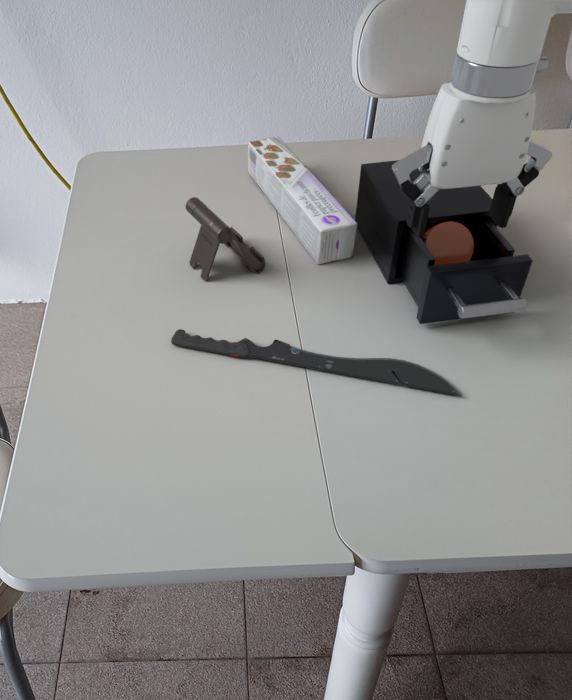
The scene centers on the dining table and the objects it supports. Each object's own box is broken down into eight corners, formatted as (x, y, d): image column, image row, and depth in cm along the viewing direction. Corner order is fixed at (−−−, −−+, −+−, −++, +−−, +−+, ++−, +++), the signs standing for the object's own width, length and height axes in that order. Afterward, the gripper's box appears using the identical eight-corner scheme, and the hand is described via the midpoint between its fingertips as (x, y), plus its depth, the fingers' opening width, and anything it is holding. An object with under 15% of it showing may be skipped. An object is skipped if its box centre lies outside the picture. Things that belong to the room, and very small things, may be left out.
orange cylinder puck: (462, 220, 78) (474, 219, 75) (462, 270, 79) (474, 271, 76) (414, 224, 78) (424, 223, 75) (415, 273, 79) (425, 275, 76)
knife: (462, 372, 69) (464, 368, 69) (461, 400, 66) (462, 396, 66) (182, 323, 77) (181, 319, 76) (169, 345, 74) (169, 342, 74)
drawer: (534, 338, 71) (554, 285, 66) (434, 350, 71) (447, 298, 66) (466, 248, 85) (479, 198, 80) (382, 258, 84) (389, 208, 79)
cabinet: (484, 272, 82) (502, 209, 76) (387, 284, 81) (398, 221, 75) (439, 213, 93) (452, 154, 87) (354, 223, 92) (361, 163, 86)
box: (354, 257, 86) (359, 220, 82) (318, 266, 84) (320, 229, 81) (277, 168, 105) (278, 134, 101) (246, 174, 104) (246, 140, 100)
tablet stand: (266, 271, 84) (266, 215, 78) (213, 291, 82) (209, 234, 76) (232, 239, 90) (231, 185, 84) (182, 257, 87) (176, 202, 82)
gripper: (557, 53, 66) (513, 202, 78) (393, 68, 65) (373, 217, 76) (599, 79, 60) (544, 235, 72) (420, 97, 59) (394, 253, 71)
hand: (456, 226), depth 74 cm, fingers open, 9 cm apart
